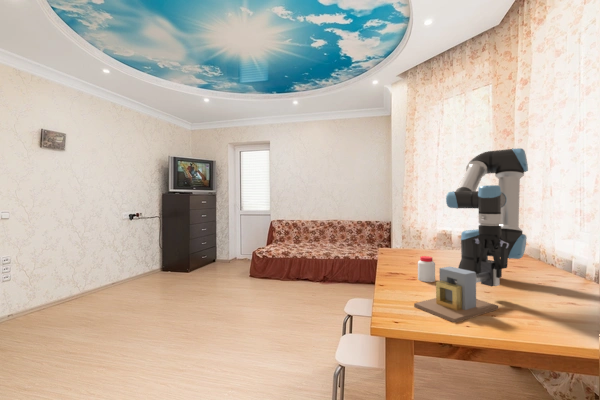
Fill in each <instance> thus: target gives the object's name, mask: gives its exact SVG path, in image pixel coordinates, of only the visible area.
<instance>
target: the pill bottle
mask: <svg viewBox="0 0 600 400" xmlns="http://www.w3.org/2000/svg"><path fill="white" fill-rule="evenodd" d="M417 280H418V281H420V282H424V283H433V282H436V262H435V261H434V260H433V257H432V256H429V255H428V256H427V255H422V256H420V257H419V260H418V261H417Z"/></svg>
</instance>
